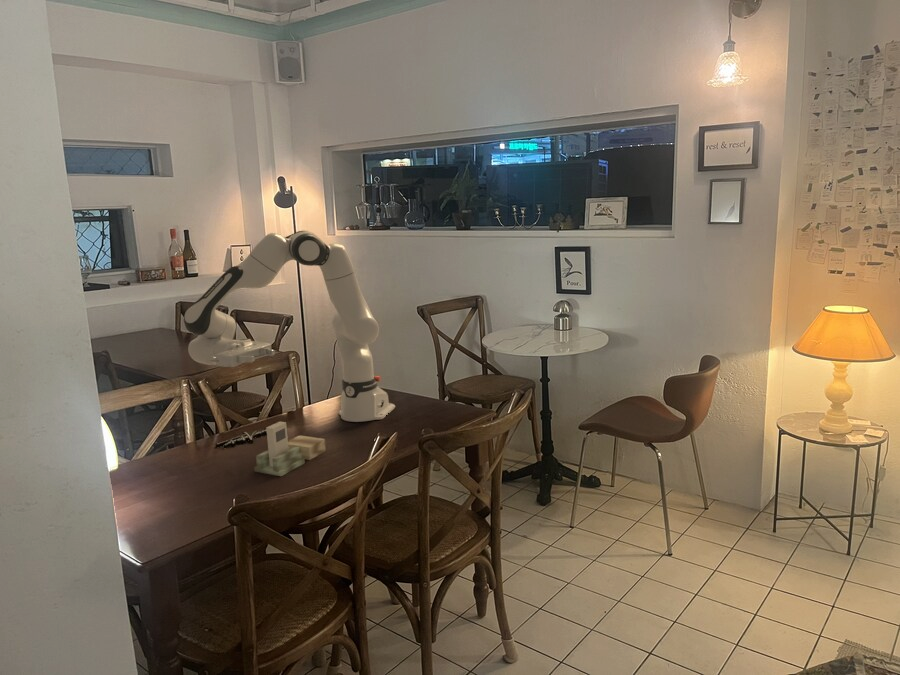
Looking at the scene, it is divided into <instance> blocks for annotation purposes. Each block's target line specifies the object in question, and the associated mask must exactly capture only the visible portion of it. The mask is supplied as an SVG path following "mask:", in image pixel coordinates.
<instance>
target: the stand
mask: <svg viewBox="0 0 900 675" xmlns="http://www.w3.org/2000/svg"><path fill="white" fill-rule="evenodd" d="M296 446H299V447H301V457H302V459H305V460H308V461H311V460H313V459H314V458H316V457H318V456H320V455H322V454H323V453H325V452H326V438H319V437H314V436H308V435H307V436H306V435H299V434H298V435H297V436H295V437H293V438H291V439H288V448H289V450H290V449H292V448H294V447H296Z"/></svg>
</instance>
